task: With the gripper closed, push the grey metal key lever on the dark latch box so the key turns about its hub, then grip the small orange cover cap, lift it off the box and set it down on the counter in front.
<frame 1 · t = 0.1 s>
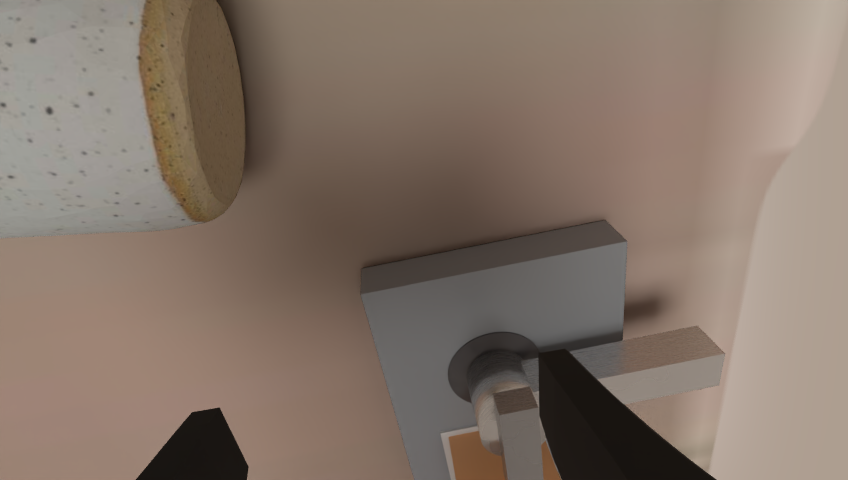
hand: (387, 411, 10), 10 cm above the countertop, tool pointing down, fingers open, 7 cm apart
cover: (496, 456, 24), point 2 cm above the countertop, touching latch box
ceramic mug: (114, 35, 15), on the countertop
latch box: (498, 361, 24), on the countertop
key: (598, 392, 19), point 4 cm above the countertop, hinge at 0.0°
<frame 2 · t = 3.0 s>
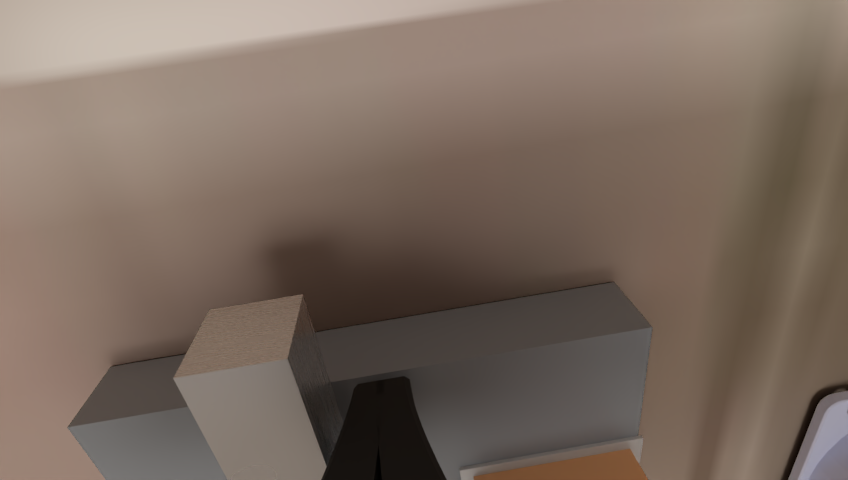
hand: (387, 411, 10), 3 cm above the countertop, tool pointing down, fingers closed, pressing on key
latch box: (397, 453, 15), on the countertop
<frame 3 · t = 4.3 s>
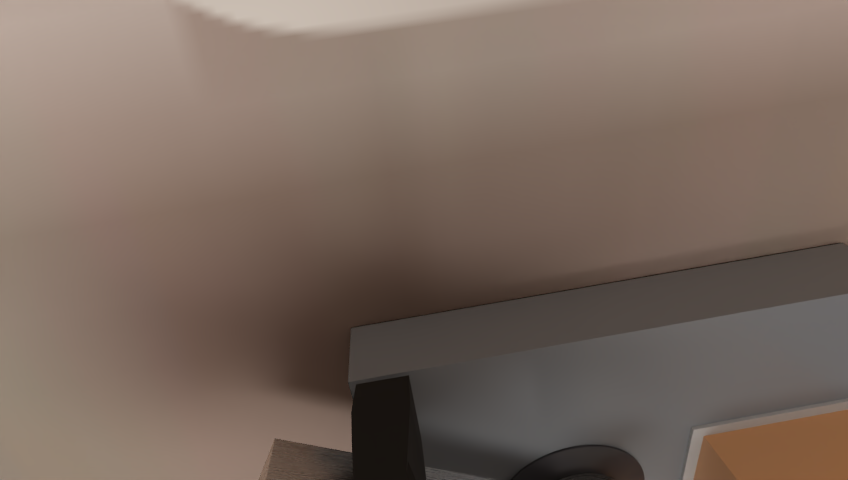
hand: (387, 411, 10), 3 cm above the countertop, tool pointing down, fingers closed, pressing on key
cover: (762, 471, 14), point 2 cm above the countertop, touching latch box
latch box: (592, 420, 15), on the countertop
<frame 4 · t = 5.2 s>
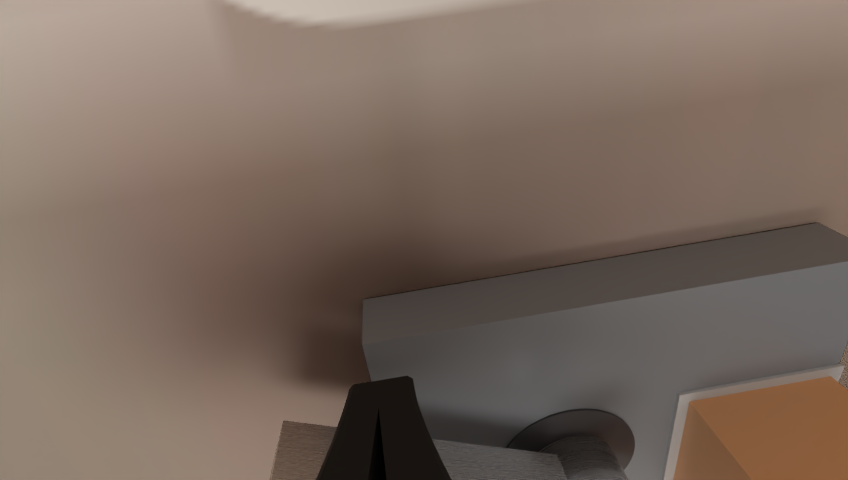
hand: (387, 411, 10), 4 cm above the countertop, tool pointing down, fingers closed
cover: (745, 437, 15), point 2 cm above the countertop, touching latch box
latch box: (586, 391, 16), on the countertop
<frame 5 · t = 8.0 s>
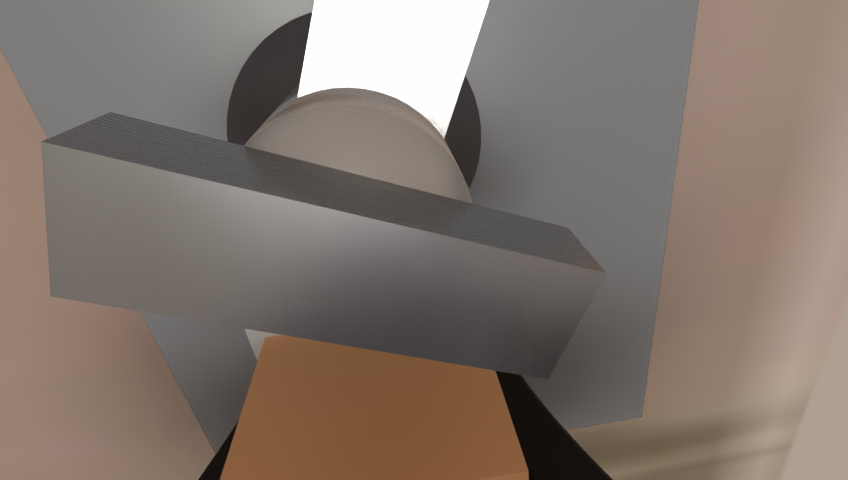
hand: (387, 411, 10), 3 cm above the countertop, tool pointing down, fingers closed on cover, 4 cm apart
cover: (387, 394, 11), point 2 cm above the countertop, touching gripper, latch box
latch box: (394, 180, 11), on the countertop
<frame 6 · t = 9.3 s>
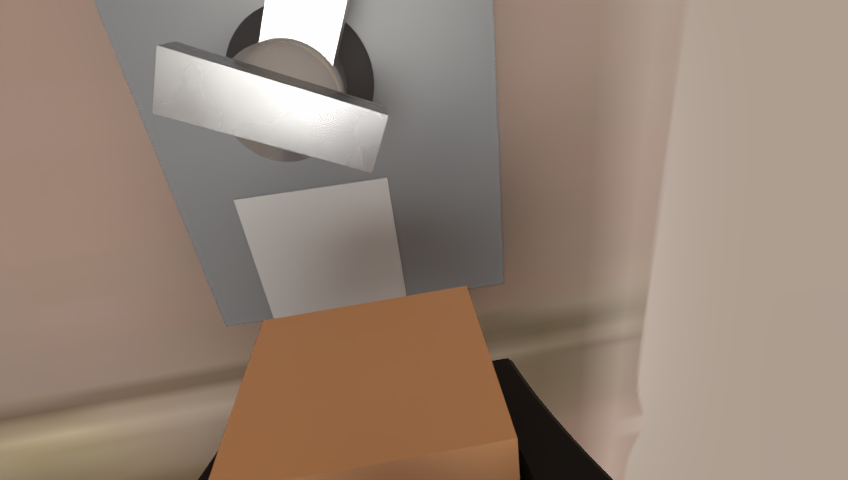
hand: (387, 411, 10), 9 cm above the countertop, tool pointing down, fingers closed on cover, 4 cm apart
cover: (383, 378, 11), point 9 cm above the countertop, touching gripper
latch box: (333, 114, 16), on the countertop
when the fingers open (2 cm above the countertop, at t = 11.6 s): cover stays where it is and tips over, resting on latch box.
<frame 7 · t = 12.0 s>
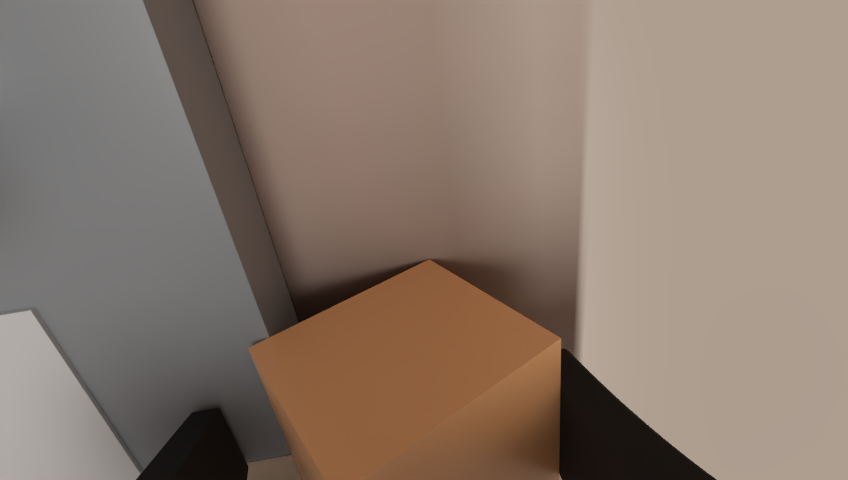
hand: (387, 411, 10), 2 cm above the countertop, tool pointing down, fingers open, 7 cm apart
cover: (367, 373, 11), point 1 cm above the countertop, tilted 30°, touching gripper, latch box
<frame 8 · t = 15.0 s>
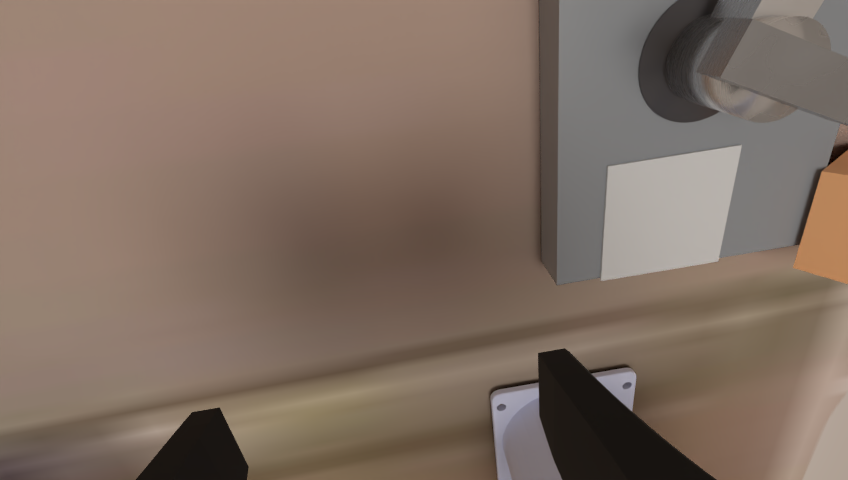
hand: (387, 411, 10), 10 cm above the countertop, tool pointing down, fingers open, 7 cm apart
cover: (826, 203, 20), point 1 cm above the countertop, tilted 31°, touching latch box
latch box: (675, 90, 18), on the countertop
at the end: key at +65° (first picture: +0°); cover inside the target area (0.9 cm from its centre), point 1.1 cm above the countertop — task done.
